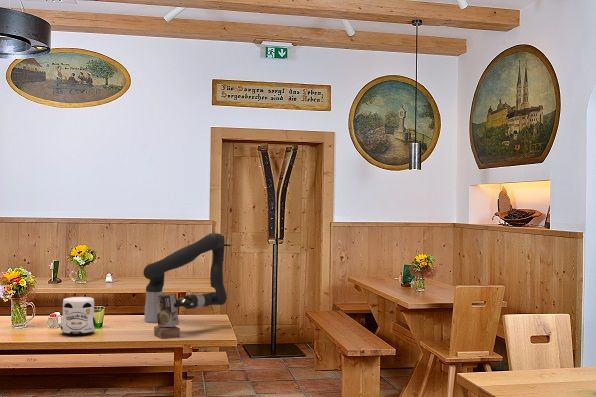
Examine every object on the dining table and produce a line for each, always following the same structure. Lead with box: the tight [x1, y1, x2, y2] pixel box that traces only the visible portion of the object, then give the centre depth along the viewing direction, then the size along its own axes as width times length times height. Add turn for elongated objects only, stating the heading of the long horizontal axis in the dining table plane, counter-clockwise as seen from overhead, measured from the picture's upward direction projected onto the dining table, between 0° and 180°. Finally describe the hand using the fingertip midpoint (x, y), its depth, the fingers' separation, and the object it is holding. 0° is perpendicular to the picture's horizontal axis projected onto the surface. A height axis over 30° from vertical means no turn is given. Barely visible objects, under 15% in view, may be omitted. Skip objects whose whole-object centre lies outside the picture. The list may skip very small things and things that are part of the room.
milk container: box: [60, 296, 97, 336], centre depth 368 cm, size 17×17×18 cm
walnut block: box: [153, 325, 181, 340], centre depth 366 cm, size 10×10×5 cm
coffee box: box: [155, 293, 180, 327], centre depth 367 cm, size 9×6×16 cm
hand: (169, 304), depth 368 cm, fingers open, 8 cm apart
